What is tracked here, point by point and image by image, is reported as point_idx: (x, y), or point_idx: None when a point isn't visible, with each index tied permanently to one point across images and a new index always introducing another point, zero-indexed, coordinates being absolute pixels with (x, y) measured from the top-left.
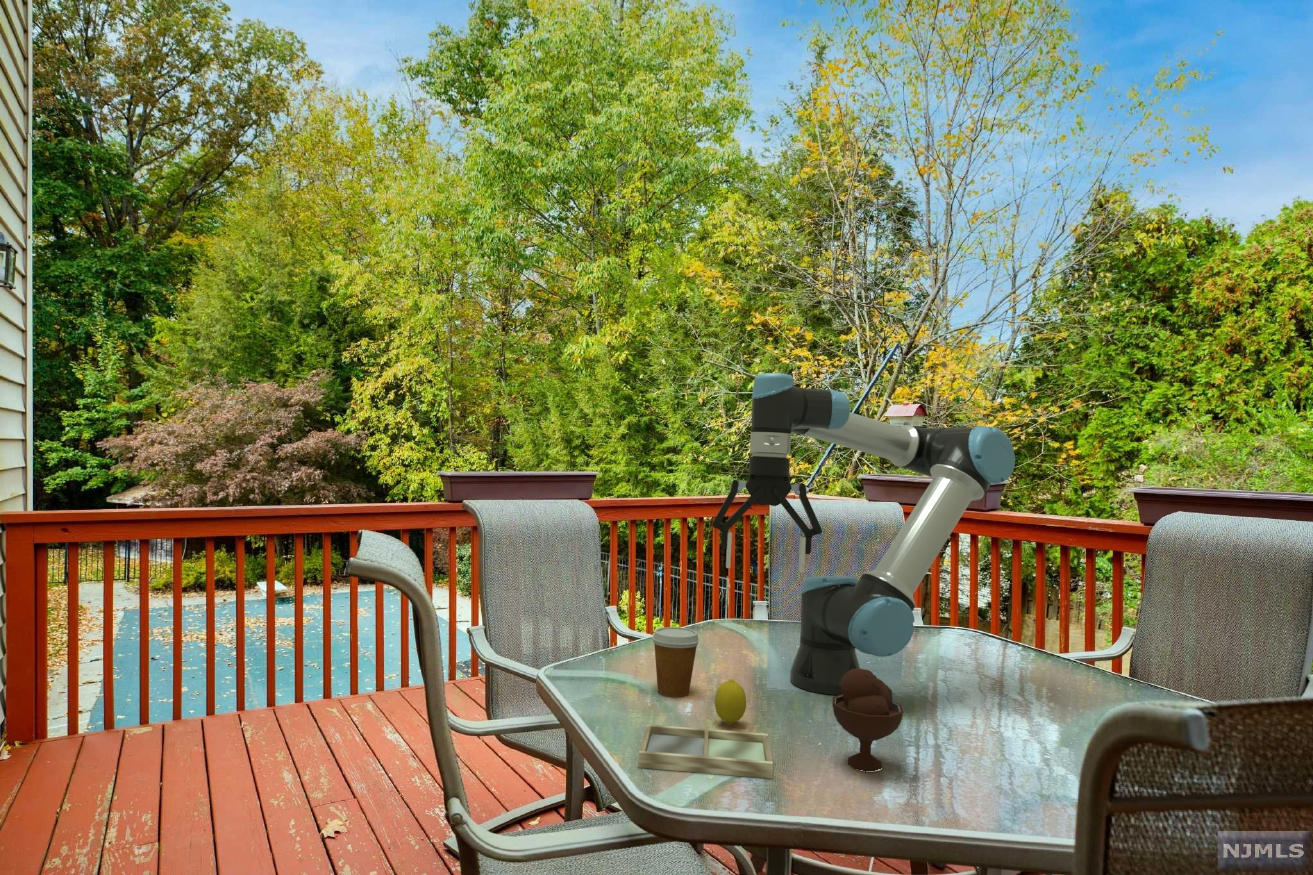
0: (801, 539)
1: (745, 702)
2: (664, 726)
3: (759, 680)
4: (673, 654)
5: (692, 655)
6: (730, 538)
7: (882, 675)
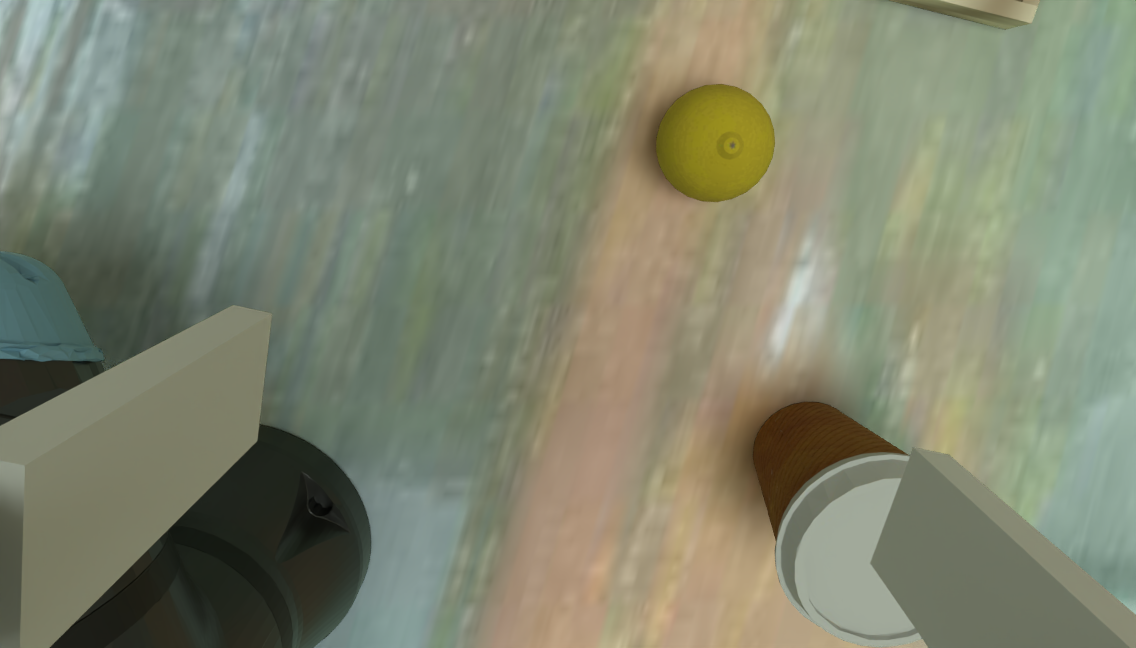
0: (54, 455)
1: (668, 113)
2: (975, 2)
3: (476, 568)
4: (890, 449)
5: (800, 467)
6: (1127, 628)
7: None
